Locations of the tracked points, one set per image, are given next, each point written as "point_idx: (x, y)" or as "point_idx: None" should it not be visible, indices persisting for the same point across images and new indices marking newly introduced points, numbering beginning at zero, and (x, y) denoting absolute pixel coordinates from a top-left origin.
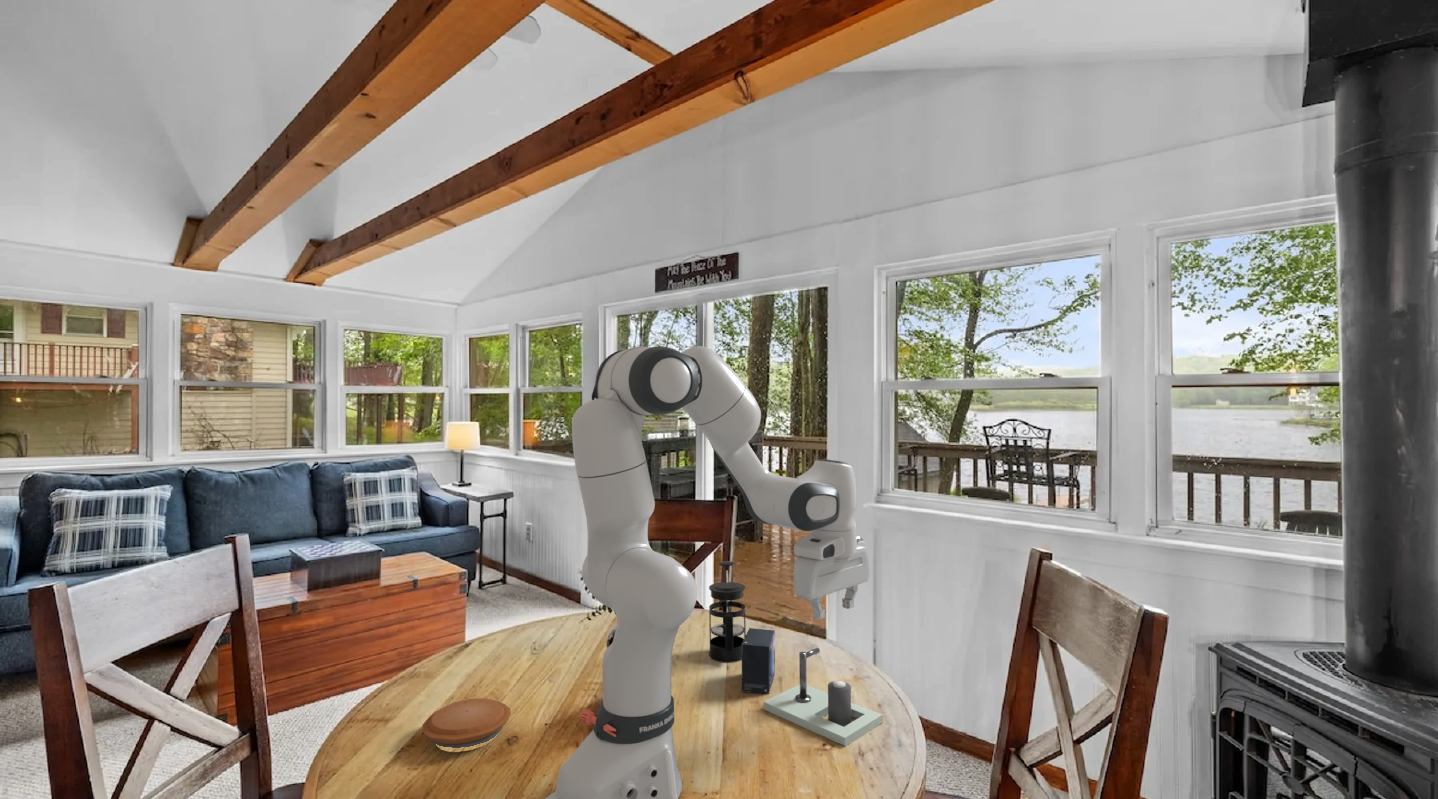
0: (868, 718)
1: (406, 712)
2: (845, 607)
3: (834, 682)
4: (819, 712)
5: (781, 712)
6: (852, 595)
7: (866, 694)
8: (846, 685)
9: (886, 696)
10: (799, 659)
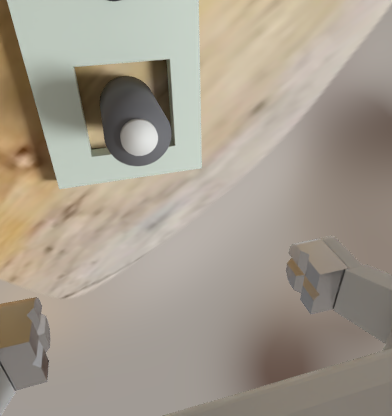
0: (165, 162)
1: None
2: (292, 256)
3: (133, 125)
4: (97, 64)
5: None
6: (358, 321)
7: (287, 51)
8: (157, 145)
9: (304, 90)
10: None
